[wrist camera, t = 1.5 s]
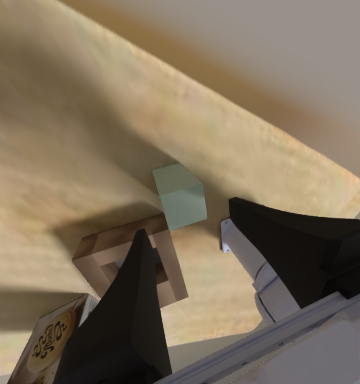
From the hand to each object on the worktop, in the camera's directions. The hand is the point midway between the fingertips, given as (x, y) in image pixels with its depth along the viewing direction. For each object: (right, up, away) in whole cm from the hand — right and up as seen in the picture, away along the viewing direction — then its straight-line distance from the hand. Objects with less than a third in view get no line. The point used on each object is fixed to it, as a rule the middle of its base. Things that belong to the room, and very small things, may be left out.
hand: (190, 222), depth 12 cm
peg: (-2, +4, +9) cm, 10 cm away
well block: (-7, -9, +14) cm, 18 cm away
